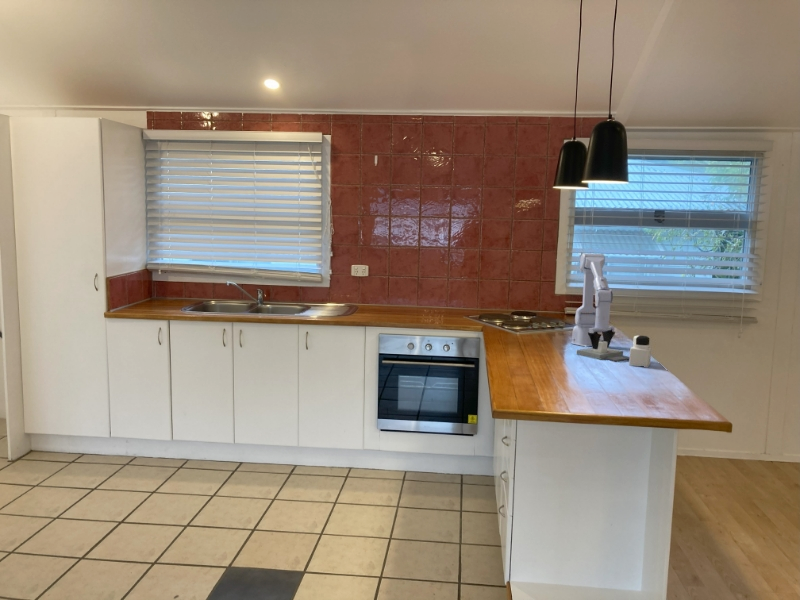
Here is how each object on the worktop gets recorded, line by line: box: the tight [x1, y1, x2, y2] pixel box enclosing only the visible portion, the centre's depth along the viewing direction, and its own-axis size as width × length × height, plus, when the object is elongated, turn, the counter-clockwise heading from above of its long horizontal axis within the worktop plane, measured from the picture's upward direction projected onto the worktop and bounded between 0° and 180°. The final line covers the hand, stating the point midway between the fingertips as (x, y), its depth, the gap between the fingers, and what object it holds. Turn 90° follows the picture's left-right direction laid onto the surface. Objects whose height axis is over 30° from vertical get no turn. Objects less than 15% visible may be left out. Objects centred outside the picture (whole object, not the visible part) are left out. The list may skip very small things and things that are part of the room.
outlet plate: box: [576, 347, 624, 361], centre depth 264 cm, size 12×16×2 cm
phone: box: [605, 356, 630, 363], centre depth 256 cm, size 5×9×1 cm, turn 118°
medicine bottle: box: [628, 335, 652, 368], centre depth 246 cm, size 7×7×12 cm
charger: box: [593, 338, 607, 353], centre depth 263 cm, size 4×4×7 cm
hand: (600, 348), depth 263 cm, fingers open, 7 cm apart
